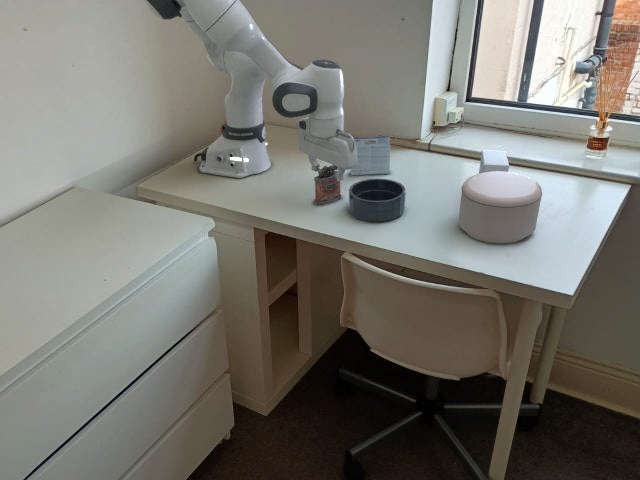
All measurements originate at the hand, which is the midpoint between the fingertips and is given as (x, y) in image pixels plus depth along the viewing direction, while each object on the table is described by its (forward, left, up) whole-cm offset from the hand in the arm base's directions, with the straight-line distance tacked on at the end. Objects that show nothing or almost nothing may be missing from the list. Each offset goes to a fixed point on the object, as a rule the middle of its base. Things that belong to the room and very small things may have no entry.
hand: (327, 175), depth 181 cm
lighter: (0, 0, -8) cm, 8 cm away
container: (+44, -9, -8) cm, 46 cm away
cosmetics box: (+42, +11, -8) cm, 44 cm away
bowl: (+14, -4, -8) cm, 16 cm away
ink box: (+8, +20, -8) cm, 23 cm away
